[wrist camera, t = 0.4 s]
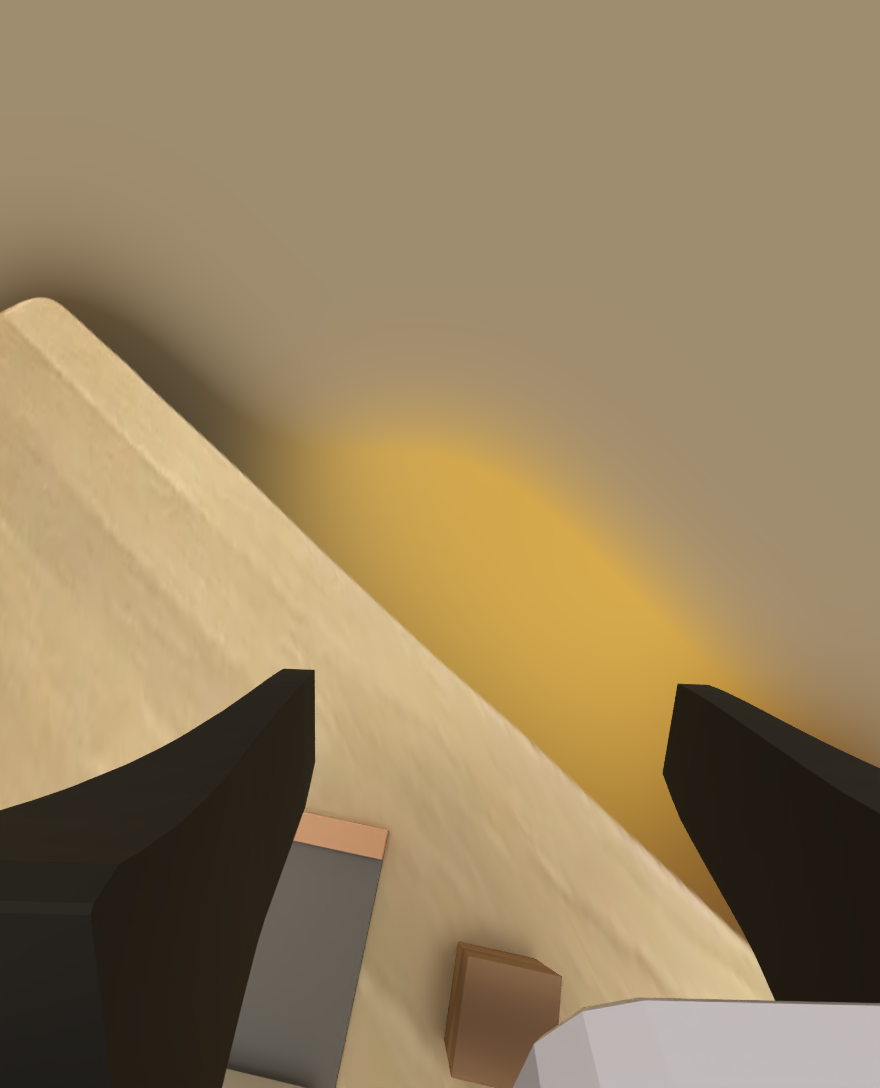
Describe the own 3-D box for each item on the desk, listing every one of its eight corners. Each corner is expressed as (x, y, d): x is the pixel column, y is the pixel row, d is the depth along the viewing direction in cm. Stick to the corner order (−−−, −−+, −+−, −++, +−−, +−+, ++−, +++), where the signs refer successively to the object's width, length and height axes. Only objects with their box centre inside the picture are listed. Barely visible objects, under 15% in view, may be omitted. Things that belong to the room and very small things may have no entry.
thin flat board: (271, 1389, 26) (263, 1418, 25) (-89, 1292, 27) (-116, 1315, 26) (388, 831, 37) (387, 829, 36) (127, 775, 38) (117, 772, 37)
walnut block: (526, 1058, 32) (552, 1100, 26) (444, 1039, 33) (451, 1076, 26) (535, 959, 34) (561, 977, 28) (458, 941, 35) (468, 956, 29)
